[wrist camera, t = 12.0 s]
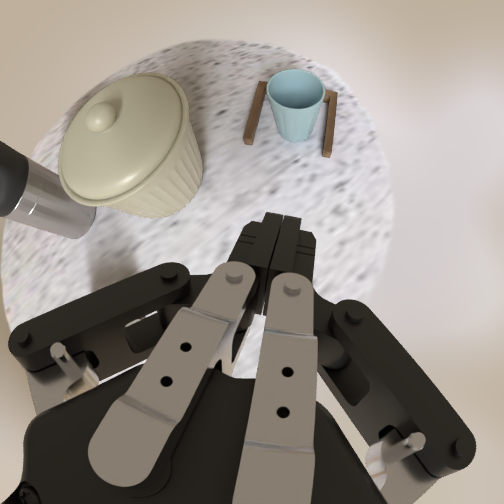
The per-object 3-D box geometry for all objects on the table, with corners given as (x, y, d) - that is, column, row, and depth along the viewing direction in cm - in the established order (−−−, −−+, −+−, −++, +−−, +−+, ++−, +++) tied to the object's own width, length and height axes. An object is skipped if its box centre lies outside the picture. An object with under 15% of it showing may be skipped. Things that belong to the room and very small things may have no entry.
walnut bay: (245, 144, 43) (243, 137, 41) (260, 88, 45) (259, 81, 43) (329, 157, 41) (331, 151, 39) (336, 99, 43) (337, 92, 41)
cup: (270, 110, 44) (265, 69, 33) (315, 109, 43) (321, 68, 33) (271, 148, 43) (267, 110, 32) (320, 147, 42) (328, 109, 32)
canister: (202, 117, 45) (158, 29, 24) (237, 208, 42) (194, 132, 21) (112, 162, 46) (38, 103, 25) (132, 253, 43) (35, 223, 22)
